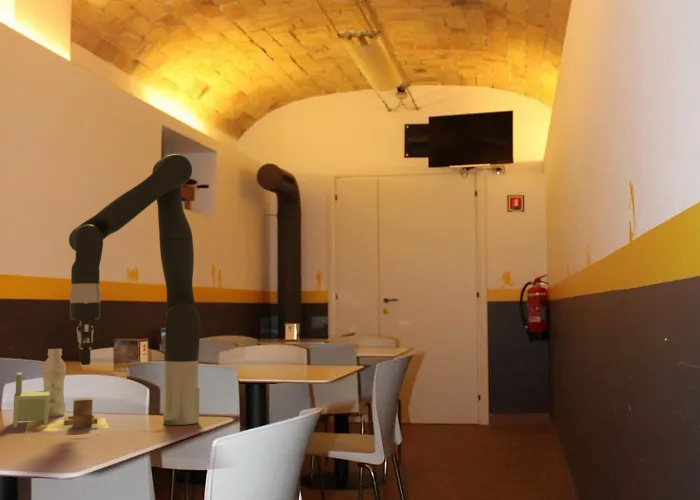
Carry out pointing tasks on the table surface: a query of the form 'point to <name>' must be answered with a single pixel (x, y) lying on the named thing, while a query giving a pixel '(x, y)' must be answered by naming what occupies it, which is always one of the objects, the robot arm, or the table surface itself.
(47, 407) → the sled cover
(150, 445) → the table surface
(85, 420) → the walnut block
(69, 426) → the puzzle board
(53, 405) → the plastic bottle
